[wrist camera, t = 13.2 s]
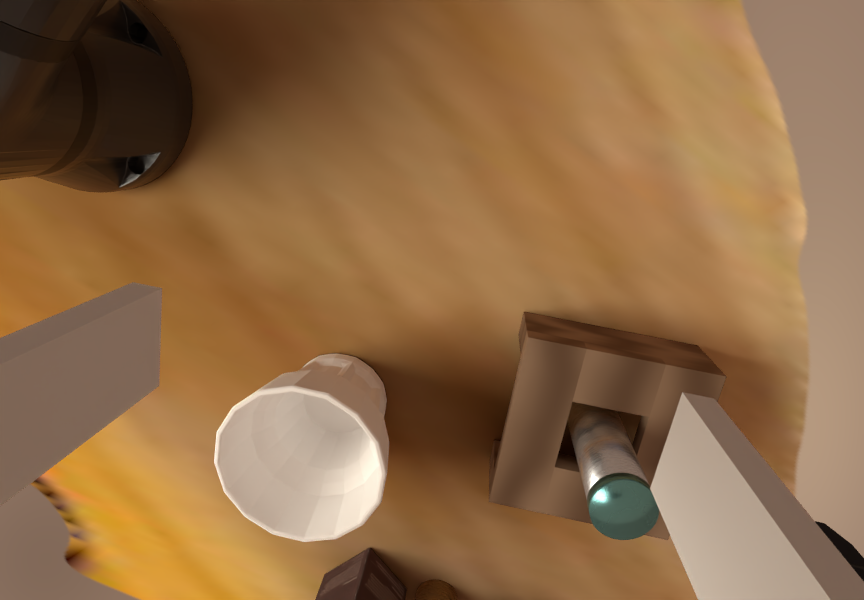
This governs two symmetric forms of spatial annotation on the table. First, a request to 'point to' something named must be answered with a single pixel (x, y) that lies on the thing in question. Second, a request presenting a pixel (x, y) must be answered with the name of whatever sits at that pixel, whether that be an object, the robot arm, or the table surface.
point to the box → (361, 580)
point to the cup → (308, 450)
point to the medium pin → (435, 591)
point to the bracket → (592, 385)
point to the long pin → (611, 473)
